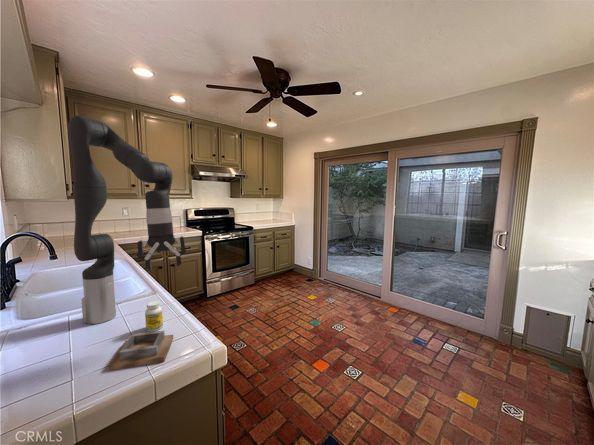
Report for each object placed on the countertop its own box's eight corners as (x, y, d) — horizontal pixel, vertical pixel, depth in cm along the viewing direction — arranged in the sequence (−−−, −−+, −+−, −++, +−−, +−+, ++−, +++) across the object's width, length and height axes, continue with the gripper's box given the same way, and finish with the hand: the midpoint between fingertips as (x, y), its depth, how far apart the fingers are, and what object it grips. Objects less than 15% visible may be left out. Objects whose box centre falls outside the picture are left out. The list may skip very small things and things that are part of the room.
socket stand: (108, 370, 67) (107, 356, 67) (125, 344, 79) (125, 333, 78) (164, 361, 71) (163, 348, 71) (173, 338, 83) (172, 327, 82)
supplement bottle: (162, 323, 93) (161, 298, 92) (163, 329, 88) (162, 304, 87) (145, 327, 90) (144, 302, 89) (146, 333, 85) (144, 307, 84)
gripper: (182, 219, 89) (186, 262, 90) (136, 222, 83) (141, 269, 84) (183, 220, 82) (187, 267, 84) (133, 224, 76) (138, 274, 78)
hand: (164, 268), depth 84 cm, fingers open, 8 cm apart
